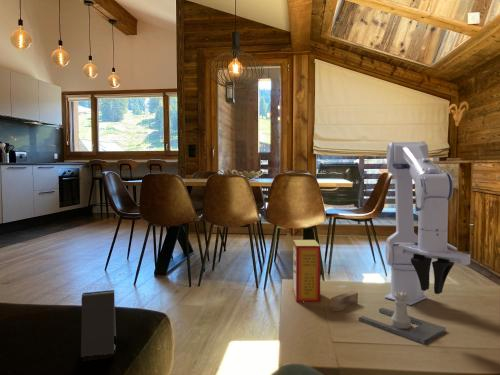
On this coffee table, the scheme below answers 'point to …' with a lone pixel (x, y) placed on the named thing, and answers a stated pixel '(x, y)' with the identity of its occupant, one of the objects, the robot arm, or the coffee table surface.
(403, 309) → the rook chess piece
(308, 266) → the baking soda box
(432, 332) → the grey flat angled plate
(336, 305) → the stop block
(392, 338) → the coffee table surface
